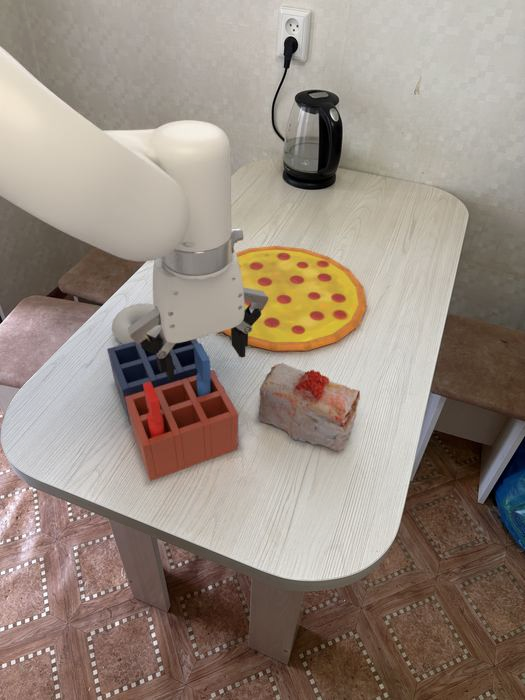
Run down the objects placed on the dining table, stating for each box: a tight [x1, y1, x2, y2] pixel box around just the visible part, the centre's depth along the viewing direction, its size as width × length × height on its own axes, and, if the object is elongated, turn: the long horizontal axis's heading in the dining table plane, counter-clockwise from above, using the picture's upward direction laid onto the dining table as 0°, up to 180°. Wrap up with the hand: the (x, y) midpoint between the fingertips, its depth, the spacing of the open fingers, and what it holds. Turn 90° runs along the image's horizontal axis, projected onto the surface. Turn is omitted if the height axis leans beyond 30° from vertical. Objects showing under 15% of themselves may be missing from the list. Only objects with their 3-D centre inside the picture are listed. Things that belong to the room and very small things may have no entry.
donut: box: [111, 303, 161, 345], centre depth 86 cm, size 10×4×10 cm
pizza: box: [221, 245, 368, 352], centre depth 96 cm, size 32×32×1 cm
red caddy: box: [125, 369, 239, 482], centre depth 69 cm, size 13×9×8 cm
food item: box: [258, 362, 361, 453], centre depth 71 cm, size 14×8×10 cm, turn 66°
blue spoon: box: [194, 343, 211, 397], centre depth 69 cm, size 2×3×14 cm, turn 26°
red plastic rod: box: [143, 381, 165, 438], centre depth 64 cm, size 2×3×14 cm, turn 26°
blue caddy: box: [107, 338, 200, 427], centre depth 75 cm, size 13×9×8 cm
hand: (204, 361), depth 65 cm, fingers open, 9 cm apart
